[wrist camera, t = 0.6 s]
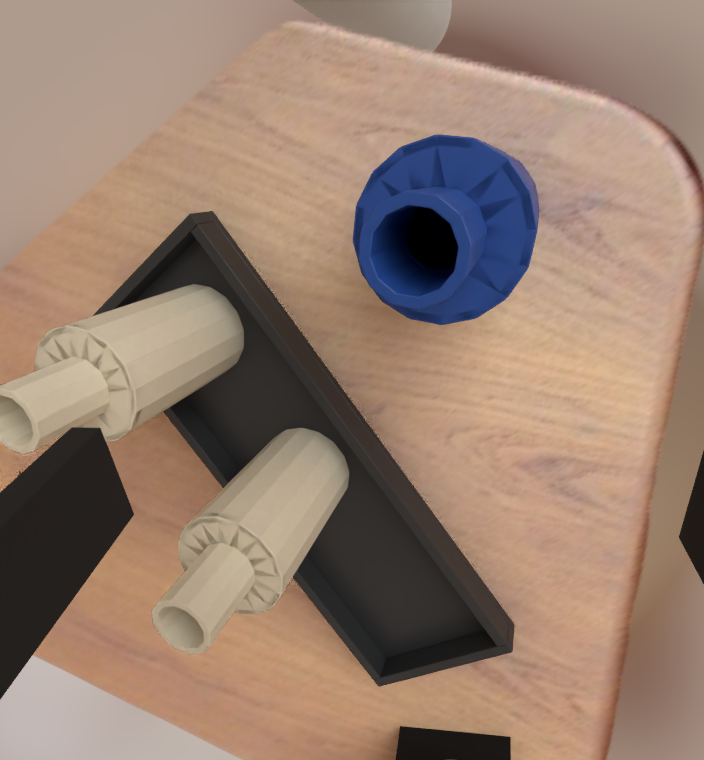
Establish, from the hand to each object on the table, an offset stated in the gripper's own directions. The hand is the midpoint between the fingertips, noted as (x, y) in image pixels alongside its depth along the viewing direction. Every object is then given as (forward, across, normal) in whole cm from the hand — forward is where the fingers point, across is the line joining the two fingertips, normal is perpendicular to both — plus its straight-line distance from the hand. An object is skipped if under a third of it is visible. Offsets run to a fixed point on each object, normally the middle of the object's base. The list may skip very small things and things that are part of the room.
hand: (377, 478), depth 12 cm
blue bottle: (+22, +3, +1) cm, 23 cm away
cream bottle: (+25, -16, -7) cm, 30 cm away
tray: (+22, -9, -17) cm, 29 cm away
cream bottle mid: (+22, -9, -17) cm, 29 cm away
